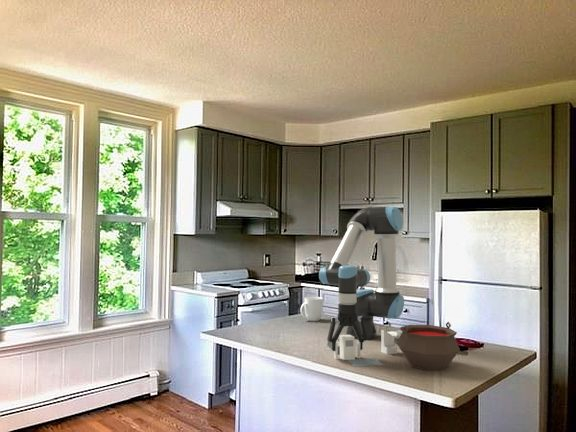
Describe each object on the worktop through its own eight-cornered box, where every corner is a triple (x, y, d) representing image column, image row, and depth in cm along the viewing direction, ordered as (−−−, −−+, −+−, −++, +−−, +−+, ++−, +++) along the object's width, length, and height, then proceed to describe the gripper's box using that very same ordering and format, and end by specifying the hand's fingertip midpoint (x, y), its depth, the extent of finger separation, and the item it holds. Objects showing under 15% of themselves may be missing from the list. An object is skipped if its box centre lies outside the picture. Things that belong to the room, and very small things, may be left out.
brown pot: (424, 377, 163) (424, 331, 164) (384, 360, 185) (384, 319, 186) (474, 370, 173) (473, 326, 173) (430, 354, 195) (430, 316, 195)
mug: (306, 323, 258) (306, 300, 258) (295, 320, 266) (295, 298, 267) (326, 320, 266) (326, 298, 267) (314, 317, 275) (315, 296, 276)
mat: (374, 359, 186) (374, 358, 186) (383, 365, 177) (383, 364, 177) (346, 360, 184) (346, 359, 184) (354, 367, 175) (354, 366, 175)
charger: (349, 356, 190) (349, 334, 191) (355, 359, 184) (354, 336, 185) (339, 356, 190) (338, 334, 191) (344, 360, 183) (344, 337, 184)
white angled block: (373, 348, 195) (381, 329, 197) (388, 357, 198) (396, 339, 201) (378, 350, 191) (386, 331, 194) (394, 359, 195) (402, 340, 197)
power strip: (334, 342, 213) (334, 334, 213) (347, 353, 194) (347, 345, 194) (323, 343, 212) (324, 335, 213) (336, 354, 193) (336, 345, 193)
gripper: (369, 301, 193) (368, 354, 192) (319, 302, 189) (319, 356, 188) (375, 304, 185) (375, 359, 185) (324, 305, 181) (323, 361, 181)
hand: (347, 358), depth 186 cm, fingers open, 9 cm apart
